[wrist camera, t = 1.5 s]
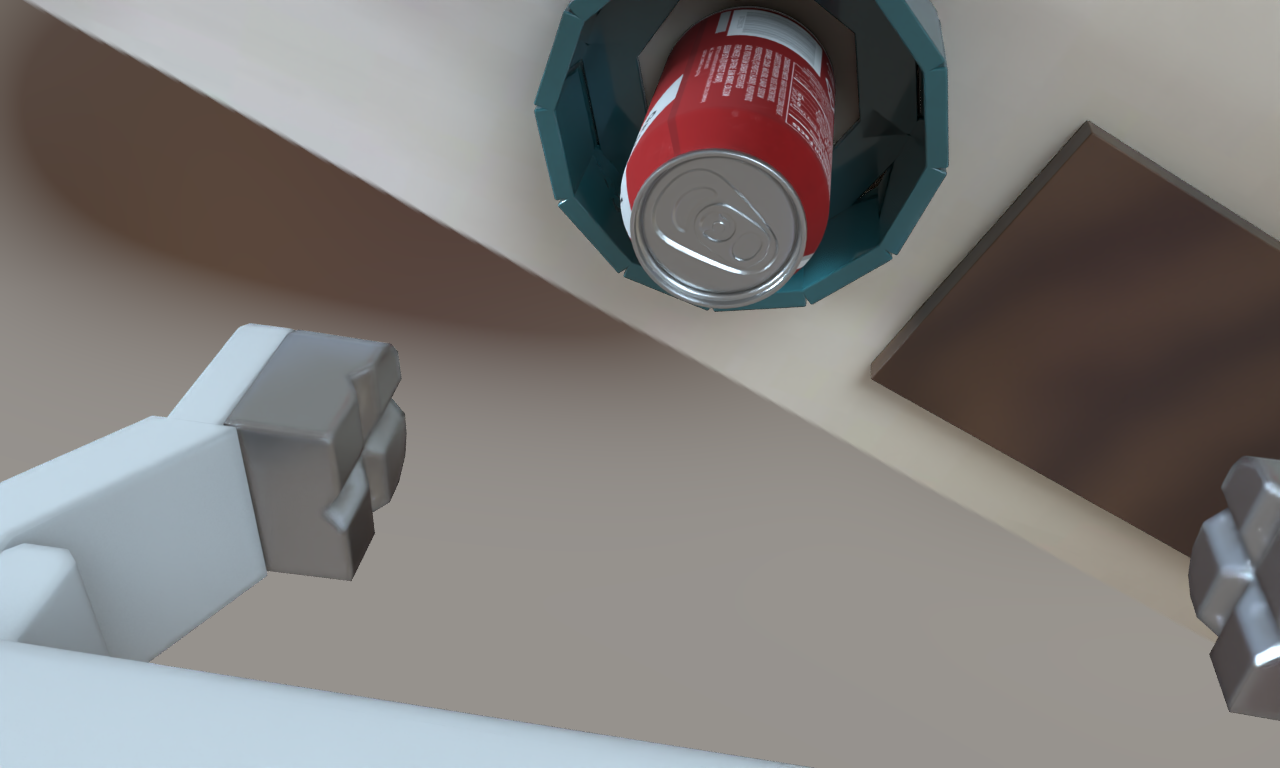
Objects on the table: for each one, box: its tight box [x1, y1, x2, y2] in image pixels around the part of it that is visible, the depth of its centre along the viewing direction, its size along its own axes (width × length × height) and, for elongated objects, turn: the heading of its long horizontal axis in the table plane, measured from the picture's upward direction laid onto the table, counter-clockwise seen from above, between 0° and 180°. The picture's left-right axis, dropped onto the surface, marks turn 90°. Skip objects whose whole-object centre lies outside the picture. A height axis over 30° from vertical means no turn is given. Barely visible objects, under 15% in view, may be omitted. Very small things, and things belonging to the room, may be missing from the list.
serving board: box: [871, 121, 1280, 558], centre depth 48 cm, size 22×14×1 cm, turn 62°
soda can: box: [620, 6, 836, 309], centre depth 39 cm, size 7×7×12 cm
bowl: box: [534, 0, 949, 312], centre depth 42 cm, size 15×15×5 cm
